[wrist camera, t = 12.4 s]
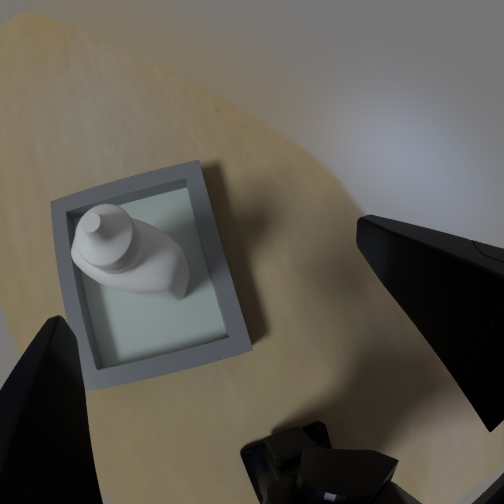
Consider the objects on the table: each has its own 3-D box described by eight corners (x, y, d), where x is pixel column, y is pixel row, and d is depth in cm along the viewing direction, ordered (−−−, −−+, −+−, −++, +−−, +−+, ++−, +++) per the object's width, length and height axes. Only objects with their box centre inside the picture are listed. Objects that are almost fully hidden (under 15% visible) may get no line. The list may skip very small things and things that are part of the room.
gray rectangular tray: (248, 347, 21) (253, 350, 19) (96, 385, 19) (86, 390, 17) (198, 172, 24) (198, 159, 22) (60, 210, 21) (50, 201, 19)
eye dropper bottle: (156, 327, 20) (100, 333, 9) (101, 270, 20) (10, 214, 9) (200, 281, 21) (196, 232, 10) (144, 226, 22) (93, 132, 10)
